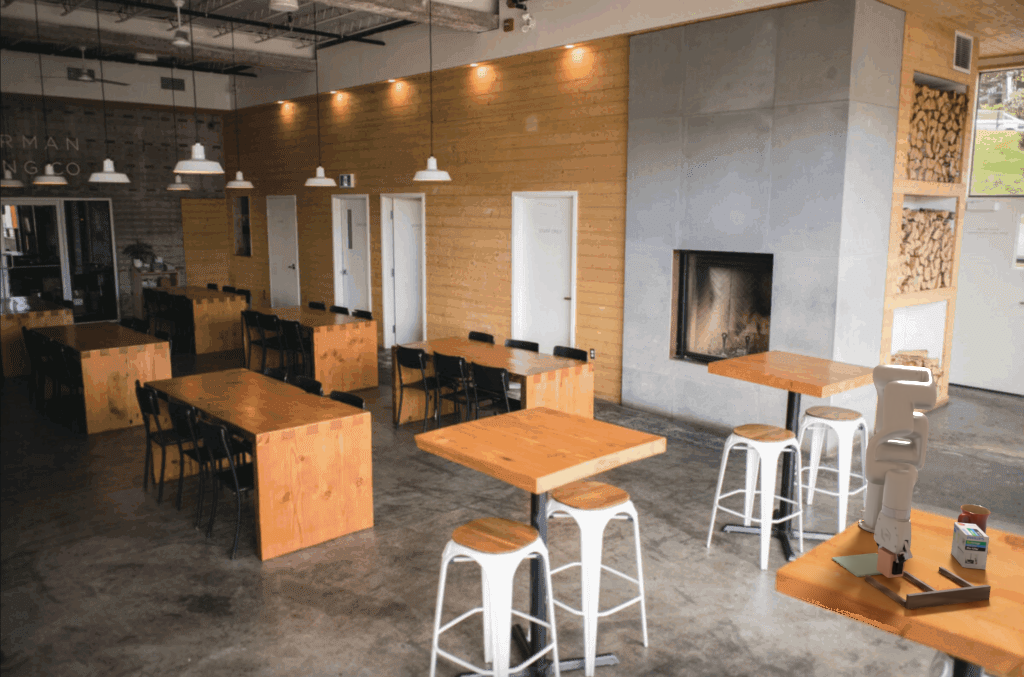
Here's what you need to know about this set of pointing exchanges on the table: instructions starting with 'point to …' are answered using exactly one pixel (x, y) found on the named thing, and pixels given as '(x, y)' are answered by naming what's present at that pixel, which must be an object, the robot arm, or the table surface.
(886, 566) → the block
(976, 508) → the mug
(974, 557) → the light bulb box
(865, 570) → the mat
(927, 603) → the lane rack
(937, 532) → the table surface
